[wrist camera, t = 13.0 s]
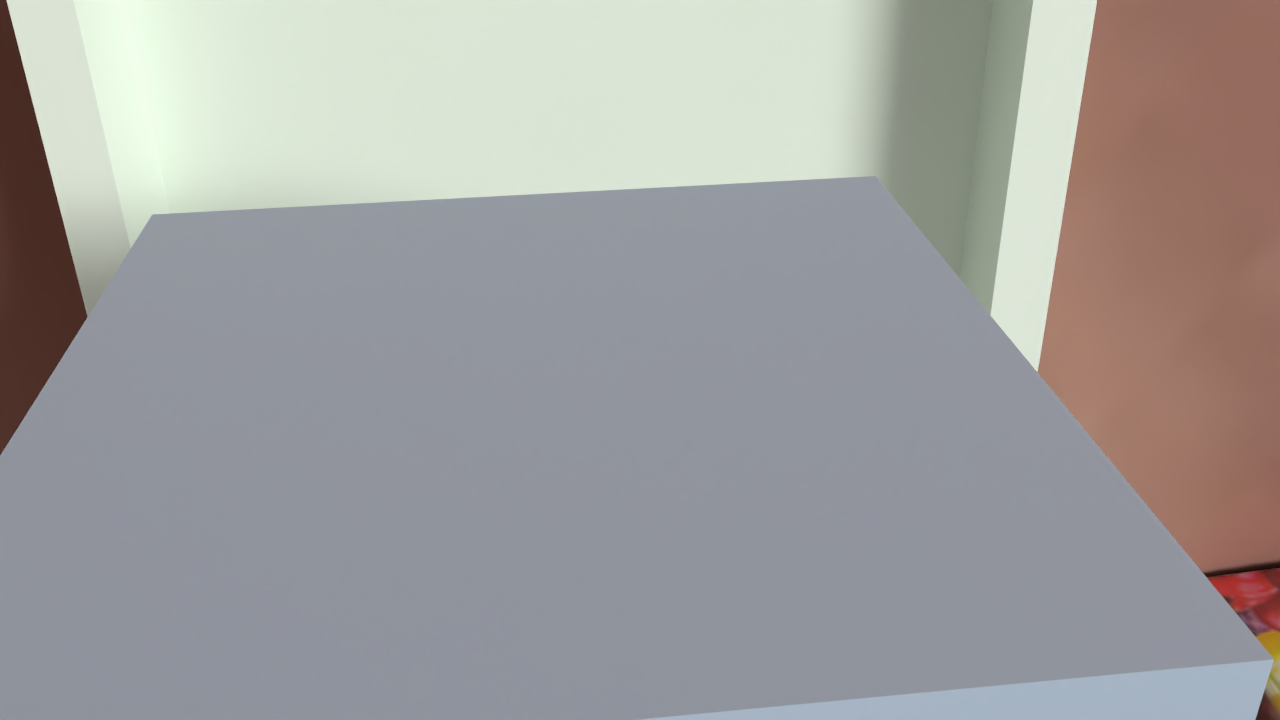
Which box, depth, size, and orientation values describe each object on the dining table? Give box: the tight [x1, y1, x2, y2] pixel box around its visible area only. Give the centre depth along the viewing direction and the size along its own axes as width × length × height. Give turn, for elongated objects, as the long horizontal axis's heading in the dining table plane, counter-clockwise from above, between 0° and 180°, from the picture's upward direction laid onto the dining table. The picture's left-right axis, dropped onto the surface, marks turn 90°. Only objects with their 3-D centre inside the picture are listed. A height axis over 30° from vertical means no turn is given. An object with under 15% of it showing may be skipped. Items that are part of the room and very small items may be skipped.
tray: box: [7, 0, 1097, 372], centre depth 13 cm, size 10×10×2 cm
